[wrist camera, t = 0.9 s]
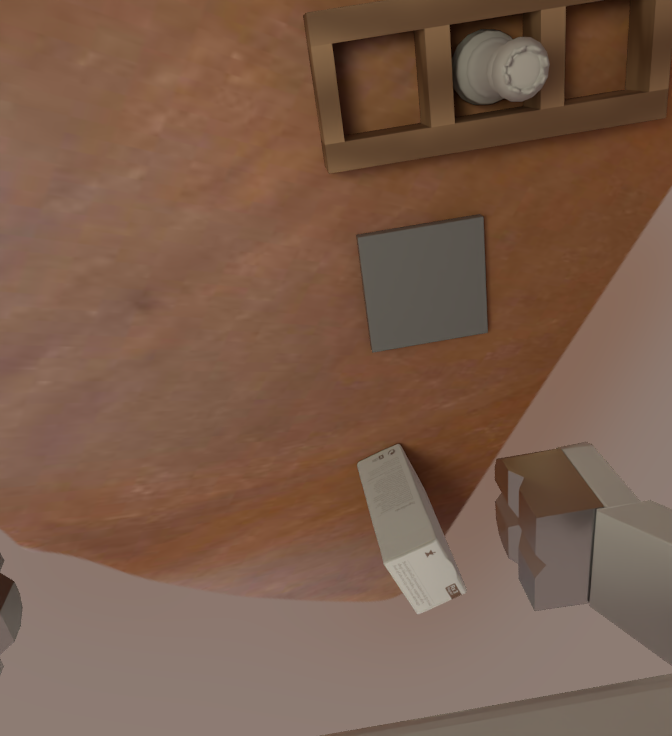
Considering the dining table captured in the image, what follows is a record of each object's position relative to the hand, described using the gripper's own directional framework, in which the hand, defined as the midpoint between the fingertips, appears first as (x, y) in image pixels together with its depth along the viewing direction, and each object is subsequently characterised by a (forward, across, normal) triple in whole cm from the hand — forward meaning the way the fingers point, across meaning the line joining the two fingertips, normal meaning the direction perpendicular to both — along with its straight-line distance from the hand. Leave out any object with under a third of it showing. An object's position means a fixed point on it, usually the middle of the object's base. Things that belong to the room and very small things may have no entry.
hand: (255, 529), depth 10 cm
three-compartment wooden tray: (+36, -15, -4) cm, 40 cm away
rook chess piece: (+36, -15, -4) cm, 40 cm away
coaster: (+36, -10, +10) cm, 39 cm away
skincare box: (+36, -7, +27) cm, 46 cm away
